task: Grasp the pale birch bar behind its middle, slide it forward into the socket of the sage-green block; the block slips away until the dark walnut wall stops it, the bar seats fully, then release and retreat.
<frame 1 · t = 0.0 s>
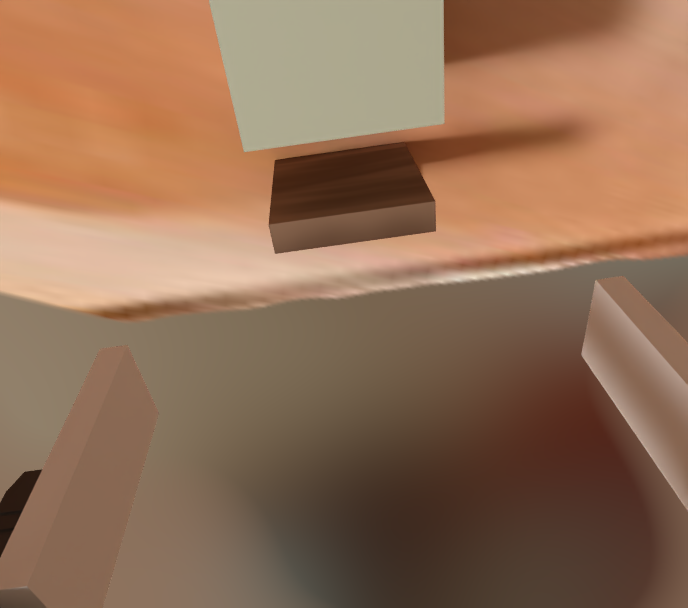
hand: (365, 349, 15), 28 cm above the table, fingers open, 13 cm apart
block: (327, 33, 30), point 6 cm above the table, slide at 0.0 cm
wall: (341, 163, 41), on the table
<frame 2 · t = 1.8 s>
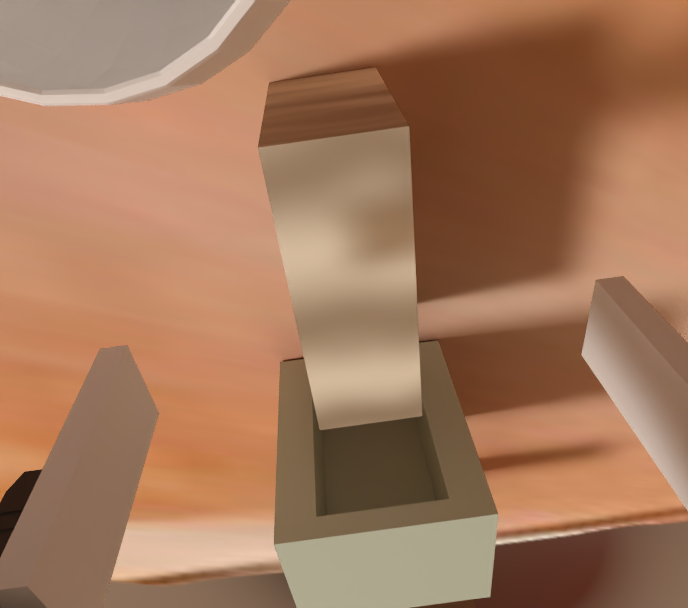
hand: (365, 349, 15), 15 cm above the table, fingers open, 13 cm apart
block: (375, 469, 31), point 6 cm above the table, slide at 0.0 cm
peg: (340, 210, 29), on the table
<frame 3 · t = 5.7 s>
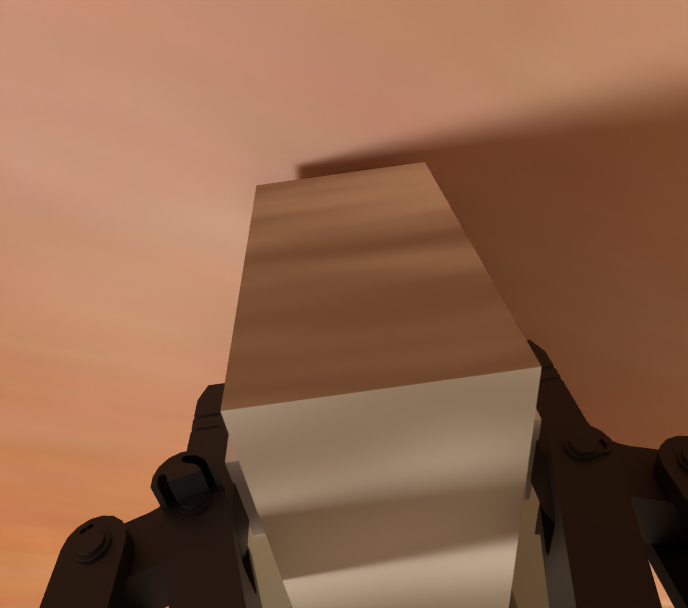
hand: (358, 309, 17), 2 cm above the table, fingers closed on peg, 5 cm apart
block: (396, 594, 19), point 6 cm above the table, slide at 0.0 cm
peg: (363, 352, 19), point 1 cm above the table, touching gripper
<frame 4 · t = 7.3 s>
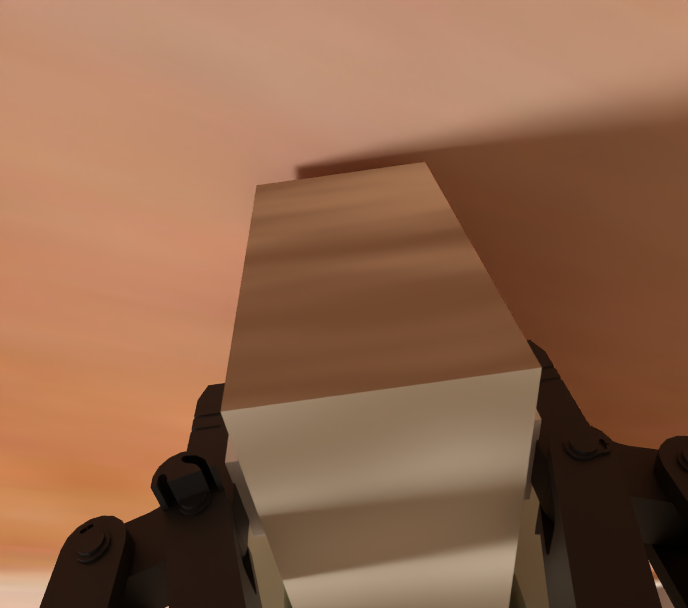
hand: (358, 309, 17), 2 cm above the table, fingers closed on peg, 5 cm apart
block: (395, 582, 18), point 6 cm above the table, slide at 5.0 cm
peg: (363, 352, 19), point 1 cm above the table, touching gripper
when the fingers open (2 cm above the table, at t = 8.1 s): peg drops 1 cm, on the table.
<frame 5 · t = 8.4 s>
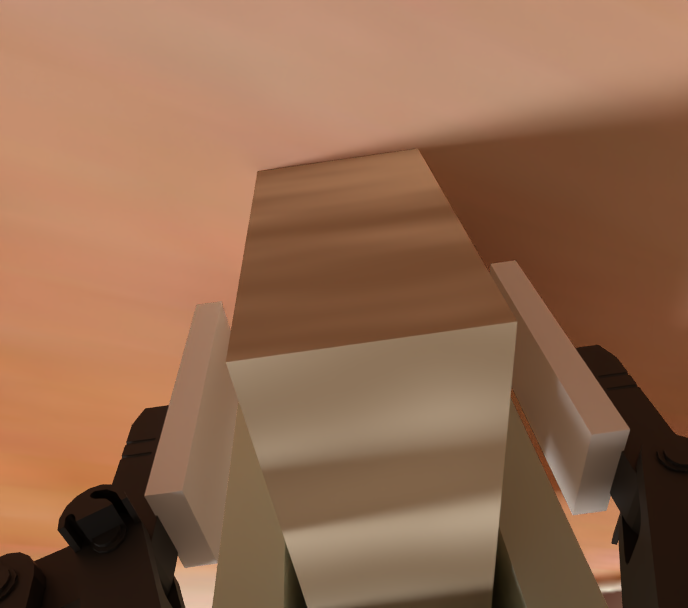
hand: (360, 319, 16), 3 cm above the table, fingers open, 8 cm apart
block: (395, 581, 18), point 6 cm above the table, slide at 5.0 cm
peg: (360, 334, 20), on the table
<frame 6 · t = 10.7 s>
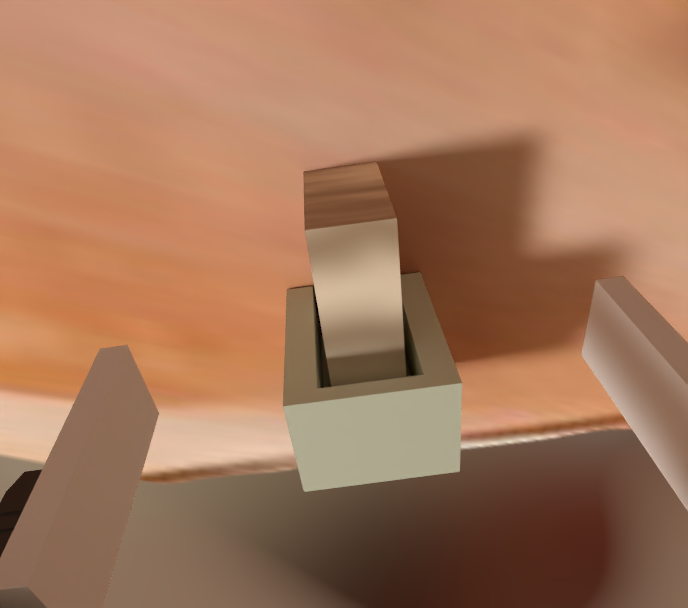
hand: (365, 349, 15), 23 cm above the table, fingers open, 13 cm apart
block: (366, 373, 38), point 6 cm above the table, slide at 5.0 cm
peg: (350, 256, 40), on the table
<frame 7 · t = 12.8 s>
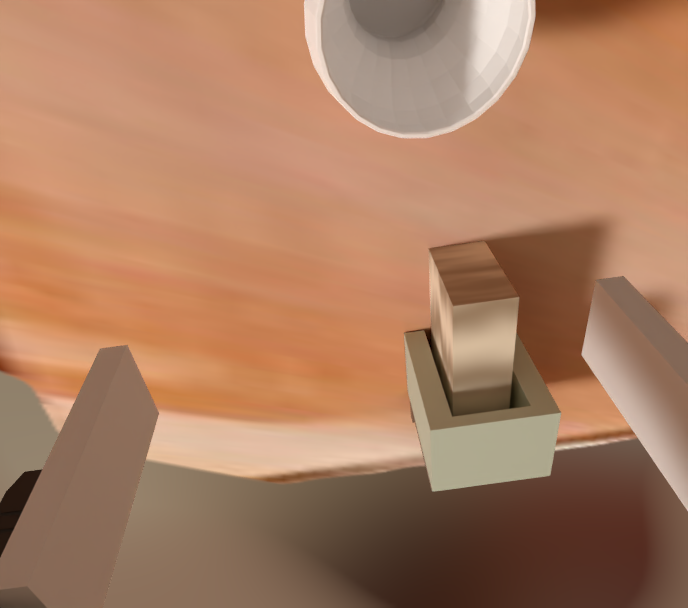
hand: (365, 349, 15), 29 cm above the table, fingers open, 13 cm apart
block: (472, 400, 49), point 6 cm above the table, slide at 5.0 cm
peg: (455, 307, 51), on the table
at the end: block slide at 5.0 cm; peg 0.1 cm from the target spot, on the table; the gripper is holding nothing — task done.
